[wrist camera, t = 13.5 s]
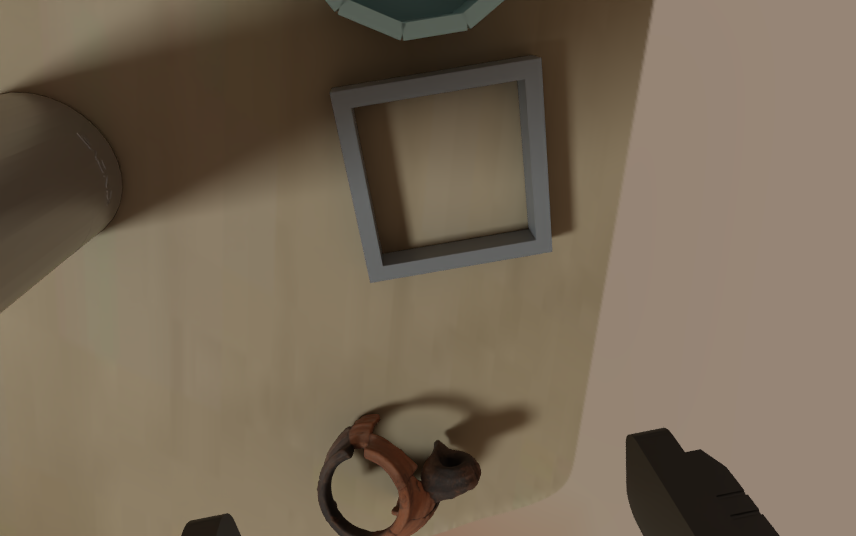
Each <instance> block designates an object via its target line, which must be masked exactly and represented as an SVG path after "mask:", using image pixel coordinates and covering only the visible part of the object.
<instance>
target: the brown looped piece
mask: <svg viewBox="0 0 856 536" xmlns="http://www.w3.org/2000/svg"><path fill="white" fill-rule="evenodd" d="M379 421H380V416H379V415H378V414H370V415H364V416H362V417H361V418H360V419H359V420H356V421H355V423H354V425H353V426H352V427H347V428H346V429H345V430H344V431H343V432H342V433H341V434H340V435H339V436H338V438H337V439H336V440H335V442H334V443H333V445H332V446H331V448H330V450H329V452H328V454H327V456H326V459H325V462H324V466H323V467H322V470H321V472H320V476H319V479H320V480H319V481H318V487H317V491H318V501H319V505H320V508H321V511H322V513H323V515H324V517H325V519H326V521H327V522H328V523H329V524H330V526H331V527H332V528H333V529H334V530H335V531H336V532H337V533H338V535H340V536H410V535H412V534H414V533H415V532H417V531H418V530H419V529H420V528H421V527H423V526H424V525H425V524H426V523H427V521H428V520H429V519H430V518H431V517H432V516H433V514H434V512H435V511H436V509H437V507H438V505H439V503H440V501H442V500H446V499H453V498H455V497H457V496H459V495H461V494H463V493H465V492H467V491H468V490H472V489H473V488H474V487H475V486H476V485H477V484H478V481H479V479H480V476H481V469H480V465H479V463H477V462H476V460H475V459H474V458H473V457H472V456H471V455H469V454H468V453H465V452H462V451H457V450H452V449H449V448H448V447H446V446H445V445H444V444H443V443H442V442H440V441H439V440H437V441H435V443H434V449H433V452H432V454H431V456H430V457H428V458H427V460H426V461H425V464H424V466H423V468H422V472H421V481H419V480H417V479H416V477H415V476H414V472H415V470H416V469H417V468H418V466H417V464H416V463H415V462H413V461H412V460H411V459H410V458H409V457H408V456H407V455H406V454H405V453H404V452H403V451H402V450H401V449H399V448H397V447H396V446H394V445H393V444H392V443H391V442H389V441H388V440H386V439H385V438H383V437H381V436H378V435H376V434H373V430H374V427H375V425H376V424H377V423H378V422H379ZM361 448H364V457H365V458H366V459H368V460H370V461H372V462H374V463H376V464H378V465H379V466H381V467H382V468H383V469H384V470H385V471H386V472H387V473H388V474H389V476H390V477H391V479H392V480H393V482H394V484H395V485H396V487H397V489H398V493H399V498H398V501H397V505H396V506H395V507H394V508H393V509H392V514H393V515H397V518H396V520H395V521H394V523H393V524H392V525H391V526H390V527H388V528H387V529H385V530H381V531H375V532H370V531H368V530H364V529H361V528H358V527H356V526H354V525H352V524H351V523H350V522H348V521H347V520H346V519H345V518H344V517H343V516H342V514H341V513H340V511H339V510H338V508H337V503H336V502H335V501H334V500H333V496H332V491H331V481H332V476H333V474H334V471H335V469H336V467H337V466H338V465H339V464H340V463H342V462H343V461H345V460H347V459H350V458H351V457H352V456H353V452H354V449H361Z"/></svg>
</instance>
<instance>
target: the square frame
mask: <svg viewBox="0 0 856 536" xmlns="http://www.w3.org/2000/svg"><path fill="white" fill-rule="evenodd" d="M511 81H517V82H518V95H519V108H520V122H521V135H522V148H523V162H524V175H525V189H526V202H527V215H528V229H526V230H520V231H514V232H509V233H503V234H497V235H491V236H485V237H479V238H473V239H467V240H462V241H456V242H450V243H444V244H438V245H432V246H426V247H420V248H415V249H409V250H403V251H397V252H391V253H385V254H382V249H381V244H380V239H379V234H378V229H377V224H376V219H375V214H374V209H373V204H372V199H371V194H370V189H369V184H368V179H367V174H366V169H365V164H364V159H363V154H362V149H361V144H360V139H359V134H358V129H357V124H356V119H355V114H354V109H353V108H355V107H361V106H367V105H373V104H379V103H385V102H391V101H397V100H403V99H409V98H415V97H421V96H427V95H433V94H439V93H445V92H451V91H457V90H463V89H469V88H475V87H481V86H487V85H493V84H499V83H505V82H511ZM330 97H331V102H332V107H333V111H334V116H335V121H336V125H337V130H338V135H339V139H340V144H341V149H342V153H343V158H344V163H345V167H346V172H347V176H348V181H349V186H350V190H351V195H352V200H353V204H354V209H355V214H356V218H357V223H358V228H359V232H360V237H361V242H362V246H363V251H364V256H365V260H366V265H367V269H368V274H369V279H370V283H372V282H378V281H384V280H390V279H395V278H401V277H407V276H413V275H419V274H425V273H430V272H436V271H442V270H448V269H454V268H460V267H466V266H471V265H477V264H483V263H489V262H495V261H501V260H506V259H512V258H518V257H524V256H530V255H536V254H542V253H547V252H552V237H551V220H550V202H549V184H548V166H547V148H546V131H545V113H544V95H543V77H542V59H541V58H540V57H537V56H534V55H529V56H523V57H517V58H511V59H505V60H499V61H493V62H487V63H481V64H475V65H469V66H463V67H457V68H451V69H445V70H439V71H433V72H427V73H421V74H414V75H408V76H402V77H396V78H390V79H384V80H378V81H372V82H366V83H360V84H354V85H348V86H342V87H336V88H332V89H331V91H330Z"/></svg>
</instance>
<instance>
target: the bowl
mask: <svg viewBox="0 0 856 536" xmlns="http://www.w3.org/2000/svg"><path fill="white" fill-rule="evenodd" d="M325 1H326V2H327V3H328V4H329V6H330V7H331V8H332V9H333V11H334V12H338V15H340V16H343V17H345V18H348V19H350V20H352V21H355V22H357V23H359V24H362V25H364V26H367V27H369V28H371V29H374V30H376V31H379V32H381V33H383V34H386V35H388V36H391V37H393V38H395V39H398V40H401V38H402V40H403V41H406V40H412V39H418V38H424V37H431V36H437V35H443V34H449V33H455V32H461V31H467V28H469V29H471V28H472V27H474V26H475V25H476V24H477V23H478V22H479V21H481V20H482V19H483V18H484V17H485V16H487V15H488V14H489V13H490V12H491V11H492V10H494V9H495V8H496V7H497V6H498V5H499V4H501V3H502V2H503V1H504V0H325Z"/></svg>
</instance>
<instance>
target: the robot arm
mask: <svg viewBox="0 0 856 536" xmlns="http://www.w3.org/2000/svg"><path fill="white" fill-rule="evenodd" d="M121 195H122V176H121V172H120V169H119V165H118V161H117V159H116V157H115V155H114V153H113V151H112V149H111V147H110V145H109V143H108V142H107V141H106V139H105V138H104V137H103V136H102V134H101V133H100V132H99V130H98V129H97V128H96V127H95V126H94V125H93V124H91V123H90V122H89V121H88V120H87V119H86V118H85V117H84V116H82V115H81V114H79V113H78V112H76V111H75V110H73V109H72V108H70V107H69V106H67V105H65V104H63V103H60V102H58V101H56V100H53V99H51V98H48V97H44V96H40V95H36V94H32V93H13V92H12V93H6V94H0V313H1V312H3V311H4V310H5V309H6V308H7V307H9V306H10V305H11V304H12V303H14V302H15V301H16V300H17V299H18V298H20V297H21V296H22V295H23V294H24V293H26V292H27V291H28V290H29V289H31V288H32V287H33V286H34V285H35V284H37V283H38V282H39V281H40V280H42V279H43V278H44V277H45V276H46V275H48V274H49V273H50V272H51V271H53V270H54V269H55V268H56V267H57V266H59V265H60V264H61V263H62V262H63V261H65V260H66V259H67V258H68V257H70V256H71V255H72V254H74V253H75V252H76V251H77V250H78V249H80V248H81V247H82V246H83V245H85V244H86V243H87V242H88V241H89V240H91V239H92V238H93V237H94V236H96V235H97V234H98V233H99V232H100V231H102V230H103V229H104V228H105V227H106V226H107V225H108V223H109V222H110V221H111V220H112V219H113V218H114V216H115V214H116V211H117V209H118V207H119V205H120V200H121ZM626 484H627V495H628V500H629V504H630V507H631V510H632V513H633V515H634V518H635V520H636V522H637V524H638V526H639V528H640V530H641V532H642V534H643V536H779V534H778V533H777V532H776V531H775V529H774V528H773V527H772V525H771V524H770V523H769V522H768V520H767V519H766V518H765V517H764V515H763V514H762V515H761V514H760V512H759V509H758V507H757V506H756V505H755V504H754V502H753V501H752V500H751V498H750V497H749V496H748V495H745V492H744V489H743V488H742V487H741V486H740V484H739V483H738V482H737V480H736V479H735V478H734V476H733V475H732V474H731V473H730V471H729V470H728V469H727V467H725V466H724V465H723V464H721V463H720V462H718V461H717V460H715V459H714V458H712V457H711V456H709V455H708V454H706V453H705V452H704V451H702V450H701V449H700V450H695V451H690V452H684V450H683V449H682V448H681V446H680V445H679V443H678V442H677V440H676V439H675V438H674V436H673V435H672V434H671V432H670V431H669V430H668V429H666V428H661V429H655V430H650V431H646V432H640V433H635V434H631V435H628V436H627V438H626ZM181 536H241V535H240V532H239V530H238V528H237V526H236V523H235V521H234V519H233V517H232V516H231V515H230V514H228V513H227V514H222V515H217V516H212V517H207V518H202V519H197V520H192V521H189V522H188V523H187V524H186V526H185V527H184V530H183V532H182V535H181Z"/></svg>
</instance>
